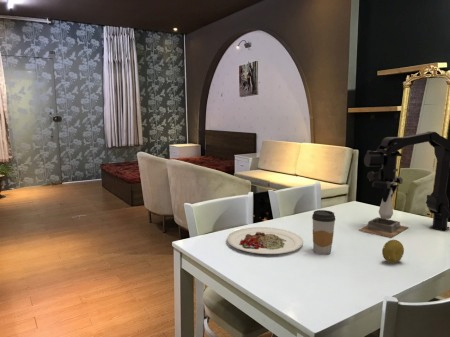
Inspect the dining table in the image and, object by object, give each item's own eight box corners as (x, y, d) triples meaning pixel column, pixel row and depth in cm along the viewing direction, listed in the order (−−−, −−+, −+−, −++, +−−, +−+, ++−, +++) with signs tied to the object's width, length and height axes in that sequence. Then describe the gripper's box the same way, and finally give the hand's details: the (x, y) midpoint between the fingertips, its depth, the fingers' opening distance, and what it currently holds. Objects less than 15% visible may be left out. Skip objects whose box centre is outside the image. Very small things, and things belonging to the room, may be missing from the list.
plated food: (313, 239, 147) (313, 231, 147) (284, 264, 122) (285, 255, 122) (249, 227, 163) (249, 220, 163) (212, 247, 138) (212, 238, 138)
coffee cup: (334, 249, 136) (336, 210, 134) (333, 257, 128) (335, 216, 126) (311, 246, 138) (313, 208, 136) (309, 254, 131) (311, 214, 129)
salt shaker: (394, 220, 156) (396, 190, 154) (380, 219, 157) (382, 190, 155) (390, 216, 161) (392, 188, 159) (377, 215, 162) (379, 187, 160)
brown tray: (377, 221, 172) (377, 214, 172) (408, 228, 162) (408, 220, 162) (358, 230, 158) (358, 222, 158) (390, 238, 148) (391, 230, 148)
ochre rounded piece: (396, 258, 127) (398, 236, 126) (405, 262, 123) (407, 240, 122) (378, 261, 124) (380, 239, 123) (387, 266, 121) (389, 243, 120)
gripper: (379, 162, 168) (377, 195, 170) (361, 166, 155) (359, 201, 157) (404, 165, 160) (401, 199, 162) (388, 169, 147) (385, 206, 149)
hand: (386, 201), depth 158 cm, fingers closed on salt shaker, 4 cm apart
